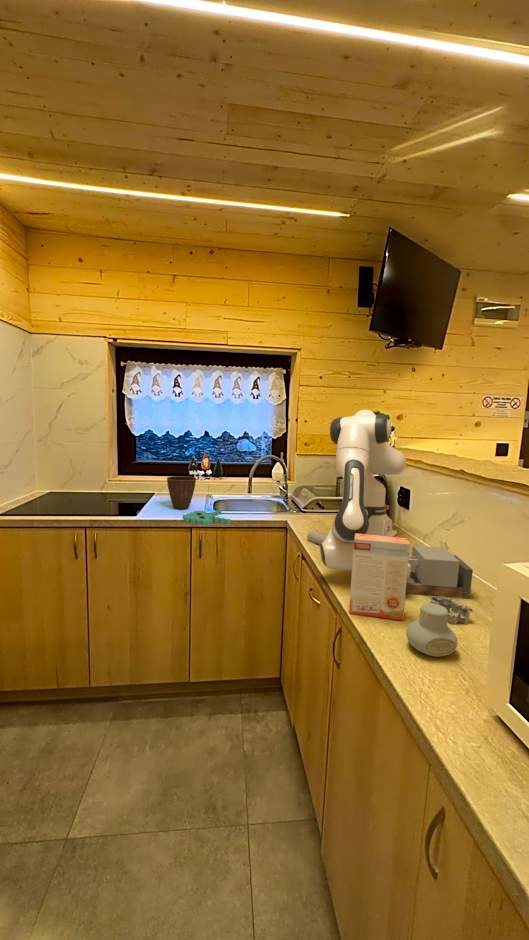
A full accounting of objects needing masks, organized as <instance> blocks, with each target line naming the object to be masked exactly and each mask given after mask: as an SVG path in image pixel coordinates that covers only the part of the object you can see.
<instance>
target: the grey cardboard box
mask: <svg viewBox="0 0 529 940" xmlns="http://www.w3.org/2000/svg"><path fill="white" fill-rule="evenodd" d="M453 555H454V554H451V552H450V551H448V549H446V548H445V547H442V546H441V547H439V546H425V545H423V546H422V545H412V547H411V556H413V557H416V558H417V559H418V560H419V564H418V565H411V571H412V572H413V573H414V575H415V576H416V577H417V578H418V580H419V581H420V582H421V584H422V585H430V586H445V587H457V581H458V572H459V563H460V561H459V560H457V559H456V558H455V557H454V556H453Z"/></svg>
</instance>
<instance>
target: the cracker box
mask: <svg viewBox="0 0 529 940" xmlns="http://www.w3.org/2000/svg"><path fill="white" fill-rule="evenodd" d="M410 545H411V544H410V541H409V540H408V538H407V537H397V536H394V537H389V536H378V535H368V534H358V533H355V538H354V550H353V562H352V570H351V578H350V595H349V609H348V610H349V611H348V612H349V614H353V615H361V616H368V617H375V618H382V619H387V620H388V619H389V620H397V621H404V616H405V615H404V614H405V603H406V595H407V594H406V582H407V571H408V559H409V556H410V548H411V547H410Z"/></svg>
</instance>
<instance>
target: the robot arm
mask: <svg viewBox="0 0 529 940" xmlns="http://www.w3.org/2000/svg"><path fill="white" fill-rule="evenodd" d="M391 434H392V425H391V422H390V420H389V418H388V417H387V416H386V415H384V414H378V413H377V414H376V413H374V412H373V411H372V410H370V409H361V410H359V411H357V412H356V413H354V415H351V416H344V417H343V416H339V417H336V418H334V419H333V420H332V421H331V423H330V425H329V436H330V440H331V441H332V443H334V444H335V445H336V451H335V452H336V453H335V468H336V471H337V473H338V474H339V475H340V476H341V477H342V481H343V485H342V487H343V488H342V502H341V506H340V508H339V510H338V512H337V513H336V515H335V518H334V520H333V522H332V523H331V526H330V528H329V532H328V533H327V537H326V539H325V540H324V541H323V543H321V545H320V558H321V562H322V563H323V566H325V567H327V568H328V569H331V570H338V571H349V572H350V571H352V562H353V550H354V538H355V533H358V534H368V535H378V536H389V537H396V535H397V534H398V531H397V530H395V529H393V520H392V519H391V518H390V517H389V516H388V514H387V510H389V508H390V505H389V504H386V493H387V490H386V487H385V485H384V484H383V483H382V482H380V481H379V480H377V479H376V478H375V475H374V474H377V475H378V474H379V475H385V476H386V475H387V476H391V475H392V476H393V475H394V476H395V475H400V474H402V473H403V472H404V471H405V469H406V466H407V458H406V455H405V454H404V452H403V451H400V450H399V449H396V448H394V446H392V445H390V443H388V442H387V441H388V440H389V439H390V437H391V436H390V435H391ZM418 564H419V560H418V559H417V558H416V557H413V556H412V555H409V559H408V571H407V577H408V576H410V571H411V565H418Z"/></svg>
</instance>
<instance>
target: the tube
mask: <svg viewBox="0 0 529 940" xmlns="http://www.w3.org/2000/svg"><path fill="white" fill-rule="evenodd" d="M327 535H328V533H324V532H321V531H318V530H316V529H312V530H309V531H308V533H307V535H306V538H307V539H308V541H309V542H311V543H313V544H315V545H319V546H321V543H323V541H324V540H325V539H326V537H327Z"/></svg>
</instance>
